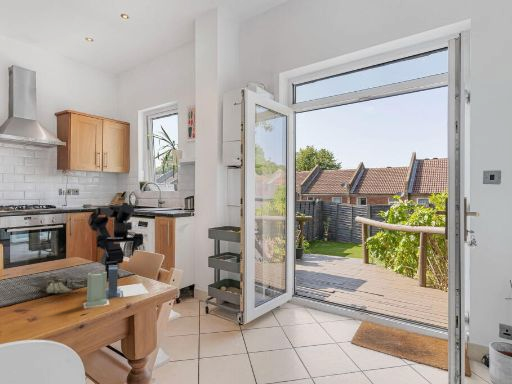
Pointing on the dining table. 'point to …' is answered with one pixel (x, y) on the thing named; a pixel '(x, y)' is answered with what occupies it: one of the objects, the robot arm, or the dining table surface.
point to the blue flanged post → (113, 283)
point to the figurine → (56, 284)
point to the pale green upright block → (96, 289)
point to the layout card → (125, 292)
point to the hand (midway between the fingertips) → (120, 256)
